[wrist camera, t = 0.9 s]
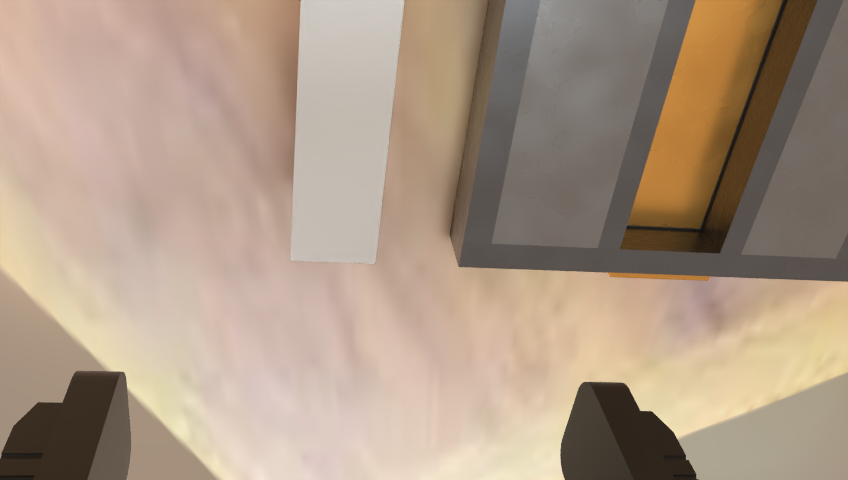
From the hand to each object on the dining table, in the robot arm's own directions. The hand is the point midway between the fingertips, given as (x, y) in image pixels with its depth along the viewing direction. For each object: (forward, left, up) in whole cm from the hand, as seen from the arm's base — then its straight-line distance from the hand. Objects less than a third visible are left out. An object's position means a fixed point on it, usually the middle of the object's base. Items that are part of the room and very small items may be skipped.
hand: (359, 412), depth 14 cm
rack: (-15, 0, -19) cm, 24 cm away
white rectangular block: (0, 0, -19) cm, 19 cm away
